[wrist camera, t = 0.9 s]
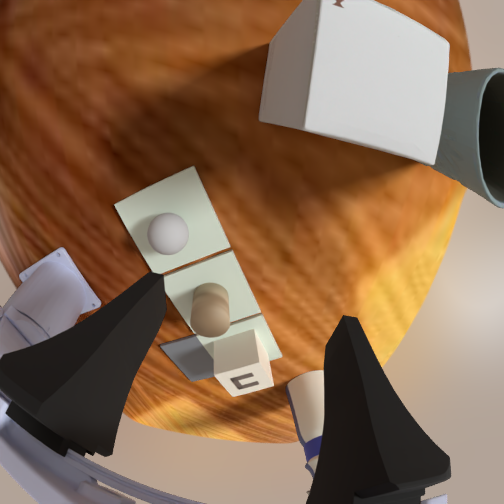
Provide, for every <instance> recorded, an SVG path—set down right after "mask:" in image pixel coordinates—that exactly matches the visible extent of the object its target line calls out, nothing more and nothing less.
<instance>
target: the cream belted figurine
mask: <svg viewBox="0 0 504 504" xmlns="http://www.w3.org/2000/svg"><path fill="white" fill-rule="evenodd" d="M286 394H287V397H288V401H289V404H290V408H291V411H292V415H293V419H294V423H295V427H296V431H297V435H298V438H299V441H300V443H301V444H302V446H303V447H304V451H305V455H306V460H307V464H306V465H305V468H306V469H308V470H309V471H310V473H311V475H312V477H313V479H314V475H315V471H316V466H317V462H318V457H319V451H320V446H321V439H322V432H323V425H324V371H323V370H317V371H311V372H307V373H304V374H301V375H299V376H297V377H295V378H294V379H292V380H291V381H290V382H289V383H288V384H287V386H286ZM307 493H308V495H309V493H310V491H307Z"/></svg>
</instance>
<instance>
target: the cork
mask: <svg viewBox="0 0 504 504" xmlns="http://www.w3.org/2000/svg"><path fill="white" fill-rule="evenodd" d="M190 325H191V328H192V329H193V331H194V332H195V333H197V334H198V335H200V336H203V337H208V338H214V337H219V336H221V335H223V334H225V333H226V332H227V331H228V329H229V327H230V314H229V296H228V292H227V290H226V289H225V288H224V287H223V286H221V285H219V284H217V283H204V284H201V285H200V286H198V287H197V288H196V289H195V291H194V294H193V302H192V310H191V319H190Z"/></svg>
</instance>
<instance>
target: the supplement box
mask: <svg viewBox="0 0 504 504" xmlns="http://www.w3.org/2000/svg"><path fill="white" fill-rule="evenodd" d="M449 47H450V45H449V43H448V42H447V41H446V40H445V39H444V38H442V37H441V36H439V35H438V34H436V33H435V32H433V31H431V30H430V29H428V28H426V27H425V26H423V25H421V24H420V23H418V22H416V21H414V20H412V19H411V18H409V17H407V16H405V15H403V14H401V13H399V12H397V11H396V10H394V9H392V8H390V7H388V6H385V5H383V4H380V3H378V2H376V1H374V0H303V1H302V2H301V3H300V5H299V6H298V7H297V8H296V9H295V11H294V12H293V13H292V14H291V16H290V17H289V18H288V19H287V21H286V22H285V23H284V25H283V26H282V27H281V28H280V30H279V31H278V32H277V34H276V35H275V36H274V38H273V39H272V40H271V42H270V45H269V52H268V58H267V64H266V71H265V77H264V84H263V90H262V97H261V104H260V111H259V121H261V122H265V123H271V124H276V125H281V126H286V127H290V128H295V129H299V130H303V131H307V132H311V133H314V134H318V135H322V136H325V137H329V138H333V139H337V140H341V141H345V142H349V143H353V144H357V145H361V146H365V147H368V148H372V149H376V150H380V151H383V152H387V153H391V154H394V155H398V156H402V157H405V158H409V159H412V160H416V161H419V162H423V163H426V164H429V165H434V164H435V159H436V155H437V150H438V145H439V140H440V135H441V129H442V122H443V116H444V109H445V101H446V90H447V77H448V66H449Z"/></svg>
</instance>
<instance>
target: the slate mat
mask: <svg viewBox="0 0 504 504" xmlns="http://www.w3.org/2000/svg"><path fill="white" fill-rule="evenodd" d="M160 347H161V348H162V349H163V350H164V352H165V353H166V354H167V355H168V356H169V357H170V359H171V360H172V361H173V362H174V363H175V364H176V365H177V366H178V367H179V369H180V370H181V371H182V372H183V373H184V374H185V375H186V376H187V377H188V378H189V379H190V380H191V381H192V382H193V381H197V380H202V379H206V378H210V377H214V359H213V358H212V357H211V356H210V354H209V353H208V352H207V350H206V349H205V348H204V346H203V345H202V344H201V342H200V341H199V339H198V338H197V337H196V334H194V335H191V336H188V337H184V338H181V339H177V340H174V341H170V342H167V343H163V344H161V345H160Z"/></svg>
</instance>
